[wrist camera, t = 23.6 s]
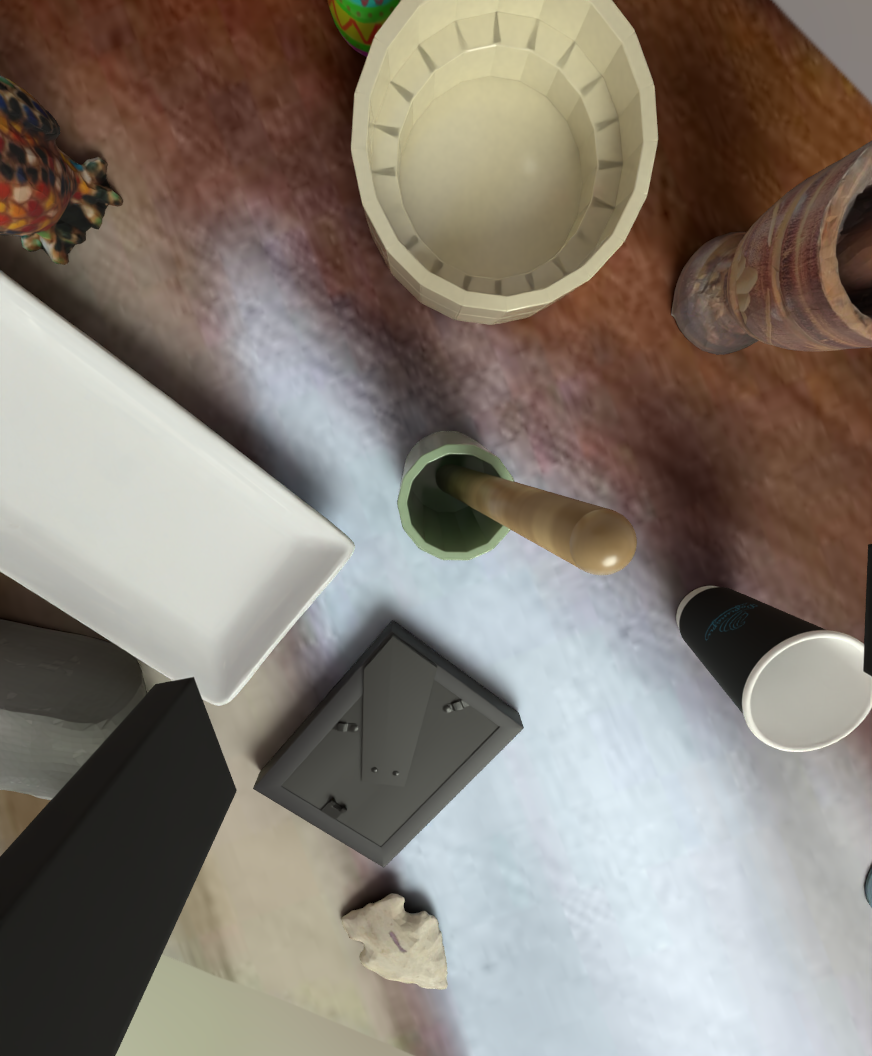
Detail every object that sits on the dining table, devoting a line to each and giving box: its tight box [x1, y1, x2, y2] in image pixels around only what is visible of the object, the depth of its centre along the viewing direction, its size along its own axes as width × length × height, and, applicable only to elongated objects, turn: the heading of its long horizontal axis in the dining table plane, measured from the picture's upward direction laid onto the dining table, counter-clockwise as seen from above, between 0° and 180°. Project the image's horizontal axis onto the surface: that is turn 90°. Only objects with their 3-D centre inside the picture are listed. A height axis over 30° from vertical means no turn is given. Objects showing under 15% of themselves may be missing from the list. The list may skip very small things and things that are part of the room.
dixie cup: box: [676, 586, 872, 752], centre depth 34 cm, size 8×8×11 cm
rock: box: [0, 619, 147, 800], centre depth 35 cm, size 18×11×8 cm, turn 73°
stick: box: [436, 464, 637, 575], centre depth 24 cm, size 2×2×22 cm
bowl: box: [351, 0, 658, 325], centre depth 28 cm, size 16×16×6 cm
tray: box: [0, 270, 355, 706], centre depth 33 cm, size 17×32×4 cm, turn 50°
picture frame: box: [253, 621, 524, 867], centre depth 40 cm, size 13×2×18 cm
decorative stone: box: [342, 893, 448, 990], centre depth 46 cm, size 8×12×3 cm
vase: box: [397, 431, 514, 560], centre depth 31 cm, size 6×6×10 cm
